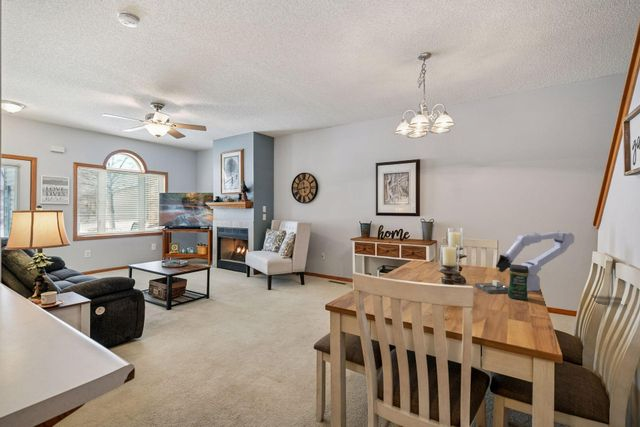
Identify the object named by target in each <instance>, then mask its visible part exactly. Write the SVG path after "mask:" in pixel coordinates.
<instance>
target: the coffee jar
mask: <svg viewBox="0 0 640 427" xmlns="http://www.w3.org/2000/svg"><path fill="white" fill-rule="evenodd" d="M508 273H509V283H508V287H509V288H508V293H507V297H509V299H516V300H528V297H529V296H528V293H529V292H528V291H527V277H528V275H529V270H528V266H524V265H520V264H513V263H512V264H511V265H510V268H508Z"/></svg>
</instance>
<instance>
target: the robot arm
mask: <svg viewBox="0 0 640 427" xmlns="http://www.w3.org/2000/svg"><path fill="white" fill-rule="evenodd" d="M551 239H552V240H553V245H554V246H553V247H552V248H549V249H548V250H547V251H545V252H543V253H542V254H540V255H539V256H537V257H535V258H533V259H530V260H527V261H523V262H520V264H519V265H524V266H528V270H529V275H528V277H527V292H531V291H532V292H534V291H535V292H537V291H539V292H540V291H541V289H540V287H541V278H540V276H539V275H537V274H539V272H541V270H542V267H543V266H545V265H546V264H547V263H549V262H551V261H553V260H554V259H556V258H557V257H559V256H560V255H563V254H564V253H565V252H566V251H567V250H568V249H569V247H570V246H571V245H572V244H574V243H575V235H574V234H573V233H572V232H565V231H560V230H558V231H555V230H553V231H551V232H546V233H542V234H540V233H538V232H533V233H530V234H529V233H526V234H525V235H523V234H519V235H518V236H516V237H515V241H514V243H513V244H512V245H511V246H510V248H509V249H507V251H506V252H504V253H502V254H500V255H499V259H498V261H497V263H496V265H495V268H497V269H498V271H499V272H500V273H504V272H505V271H506V270H509V269H510V265H511V264H513V262H514V261H515V259H516V258H517V257H518V256H519V255H520V253H521V252H522V251H523V250H524V248H525V247H529V246H530V245H532V244H538V243H541V242H542V241H544V240H551Z"/></svg>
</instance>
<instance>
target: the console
mask: <svg viewBox="0 0 640 427" xmlns="http://www.w3.org/2000/svg"><path fill="white" fill-rule="evenodd" d="M492 283H493V282H481V283H480V282H479V283H478V282H477V283H474V288H477V289H479V290H480V291H481V290H482V291H483V292H485V293H486V294H508V288H509V285H505V284H503V283H501V282H500V287H496V286H494V285H492Z"/></svg>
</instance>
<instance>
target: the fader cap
mask: <svg viewBox="0 0 640 427" xmlns="http://www.w3.org/2000/svg"><path fill="white" fill-rule="evenodd" d="M491 283H492V285H494V286H496V287H500V283H501V281H499V279H498V280H497V279H492V282H491Z"/></svg>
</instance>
